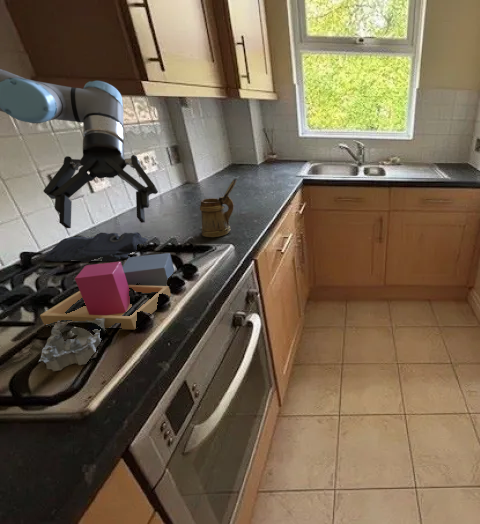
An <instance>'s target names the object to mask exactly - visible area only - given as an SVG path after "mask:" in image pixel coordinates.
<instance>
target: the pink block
mask: <svg viewBox="0 0 480 524" xmlns="http://www.w3.org/2000/svg"><path fill="white" fill-rule="evenodd" d="M122 267H123V265H122V262H121V261H110V262H102V263H94V264H86V265H85V266H83V268H82V269H81V270H80V271H79V273H78V274H77V275H76V276H75V277H74V280H75V283H76V286H77V287H78V291H80V293H81V295H82V298H83V300H84V303H85V305H86V308H87V310H88V313H89V315H112V314H118V313H124V312H126V311H127V309H128V306H129V304H130V296H129V291H130V289H129V286H128V283H127V280H126V277H125V274H124V271H123V268H122Z"/></svg>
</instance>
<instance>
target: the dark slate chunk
mask: <svg viewBox="0 0 480 524" xmlns="http://www.w3.org/2000/svg"><path fill="white" fill-rule="evenodd" d="M147 241H149V239H147V238H146V237H142V235H141V233H140V232H124V233H122V234H120V235H119V234H118V233H117V232H110V233H108V232H99V233H97V234H95V235H94V236H91V237H90V236H89V237H88V236H87V237H85V236H71V237H65V238H63V239H62V240H60V241H59V242H58V243H57V244H56V245H55V246H54V247H52V248H51V250H49V252H47V253H46V255H45V256H44V257H43V261H46V262H48V261H49V262H56V263H64V262H63V261H71V260H80V261H81V262H80V263H90V262H89V261H91V260H94V259H98V258H100V257H103V259H102V262H101V263H109V262H119V261H121V260H126V259H128V258H129V257H130V256H128V254H130V253H132V252H135V251H136V250H137V245H138V244H144V243H145V244H146V243H147ZM145 244H144V245H145Z"/></svg>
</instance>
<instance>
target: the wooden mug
mask: <svg viewBox="0 0 480 524" xmlns="http://www.w3.org/2000/svg"><path fill="white" fill-rule="evenodd" d="M237 181H238V179H237V178H234V179H232V181H231V183H230V184H229V186H228V188H227V190H226V191H225V193H224V195H223V196H220V197H218V198H215V197H213V198H212V197H211V198H204V199H201V200H200V205H199V211H201V236H203V237H206V238H217V237H222V236H223V237H224V236H226V235H228V234H229V233H230V232H231V231H232V228H231V225H230V218H231V216H232V215H233V211H234V207H235V205H234V201H233V199H232V198H230V196H229V195H230V194H231V192H232V190H233V189H234V187H235V185H236V183H237ZM225 205H226V206H227V210H226V211H225V210H224V209H225V208H226V207H225Z"/></svg>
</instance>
